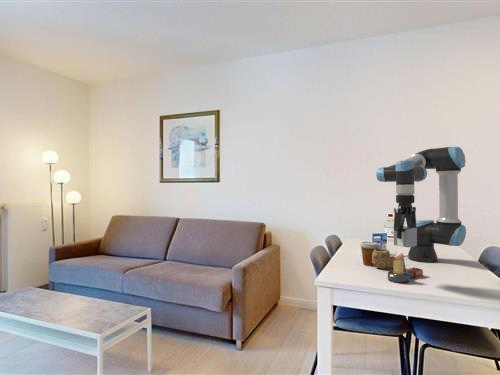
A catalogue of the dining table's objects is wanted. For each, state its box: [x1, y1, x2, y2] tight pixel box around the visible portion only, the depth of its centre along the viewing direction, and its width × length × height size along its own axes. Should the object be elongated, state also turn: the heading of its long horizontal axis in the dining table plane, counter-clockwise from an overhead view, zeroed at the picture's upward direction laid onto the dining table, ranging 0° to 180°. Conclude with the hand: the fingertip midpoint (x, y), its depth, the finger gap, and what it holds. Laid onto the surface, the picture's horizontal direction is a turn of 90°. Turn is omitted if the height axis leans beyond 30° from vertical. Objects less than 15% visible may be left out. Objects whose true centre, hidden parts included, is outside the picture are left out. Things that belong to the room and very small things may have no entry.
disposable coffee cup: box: [360, 241, 379, 267], centre depth 167 cm, size 10×10×12 cm
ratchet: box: [387, 260, 424, 285], centre depth 142 cm, size 20×9×9 cm, turn 121°
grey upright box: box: [393, 225, 417, 249], centre depth 137 cm, size 7×7×8 cm
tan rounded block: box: [372, 247, 406, 271], centre depth 158 cm, size 9×16×10 cm, turn 74°
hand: (405, 244), depth 137 cm, fingers closed on grey upright box, 7 cm apart
